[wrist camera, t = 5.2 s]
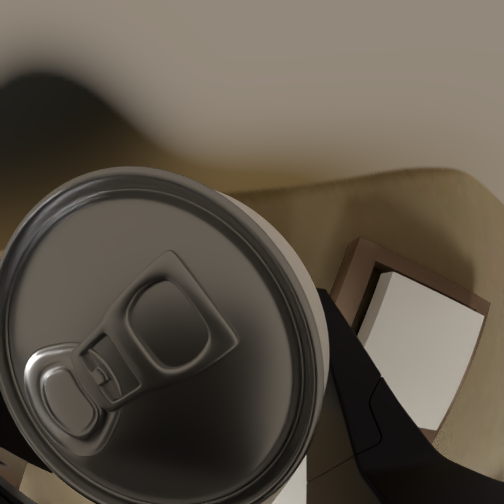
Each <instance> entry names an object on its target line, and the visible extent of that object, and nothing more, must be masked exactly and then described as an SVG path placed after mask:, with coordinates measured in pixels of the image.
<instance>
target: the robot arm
mask: <svg viewBox="0 0 504 504" xmlns="http://www.w3.org/2000/svg"><path fill="white" fill-rule="evenodd" d="M316 290H317V292H318V295H319V298H320V301H321V304H322V307H323V311H324V315H325V319H326V324H327V329H328V337H329V371H328V378H327V384H326V389H325V393H324V396H323V403H322V409H321V415H320V419H319V423H318V426H317V429H316V433H315V435H314V438H313V441H312V443H311V445H310V447H309V449H308V452H307V453H306V482H307V483H306V504H504V482H501V481H498V480H495V479H492V478H490V477H487V476H485V475H482V474H480V473H477V472H475V471H473V470H470V469H468V468H466V467H464V466H461V465H459V464H457V463H455V462H453V461H451V460H449V459H447V458H445V457H444V456H443V455H441V454H440V453H439V452H438V451H437V450H436V449H435V448H434V447H433V446H432V444H431V443H430V442H429V441H428V439H427V438H426V437H425V435H424V434H423V433H422V431H421V430H420V429H419V428H418V426H417V425H416V424H415V422H414V421H413V420H412V418H411V417H410V416H409V415H408V413H407V412H406V410H405V409H404V408H403V406H402V405H401V404H400V402H399V401H398V399H397V398H396V396H395V395H394V393H393V392H392V390H391V389H390V387H389V386H388V384H387V383H386V381H385V379H384V378H383V377H381V373H380V372H379V370H378V368H377V367H376V365H375V364H374V362H373V360H372V359H371V357H370V356H369V354H368V353H367V351H366V350H365V348H364V346H363V345H362V343H361V342H360V340H359V339H358V337H357V336H356V334H355V333H354V331H353V330H352V328H351V327H350V325H349V324H348V322H347V321H346V319H345V318H344V316H343V315H342V313H341V312H340V310H339V309H338V307H337V306H336V304H335V303H334V301H333V300H332V298H331V297H330V295H329V294H328V292H327V291H326V290H325V289H322V288H316ZM28 462H29V463H31V464H33V465H35V466H37V467H39V468H41V469H44V470H46V471H48V472H50V473H52V471H51V470H50V469H49V468H48V467H47V466H46V465H45V464H44V462H43V461H42V460H41V459H40V458H39V457H38V456H37V454H36V453H35V452H34V451H33V449H32V448H31V447H30V445H29V444H28V443H27V441H26V440H25V438H24V437H23V435H22V434H21V432H20V431H19V429H18V427H17V426H16V424H15V422H14V420H13V418H12V416H11V414H10V412H9V410H8V408H7V406H6V404H5V401H4V399H3V396H2V394H1V391H0V504H37V503H35V502H34V501H33V500H31V499H30V498H28V497H27V496H26V495H24V494H23V493H22V492H20V491H19V488H20V484H21V481H22V478H23V475H24V472H25V469H26V466H27V463H28Z"/></svg>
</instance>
